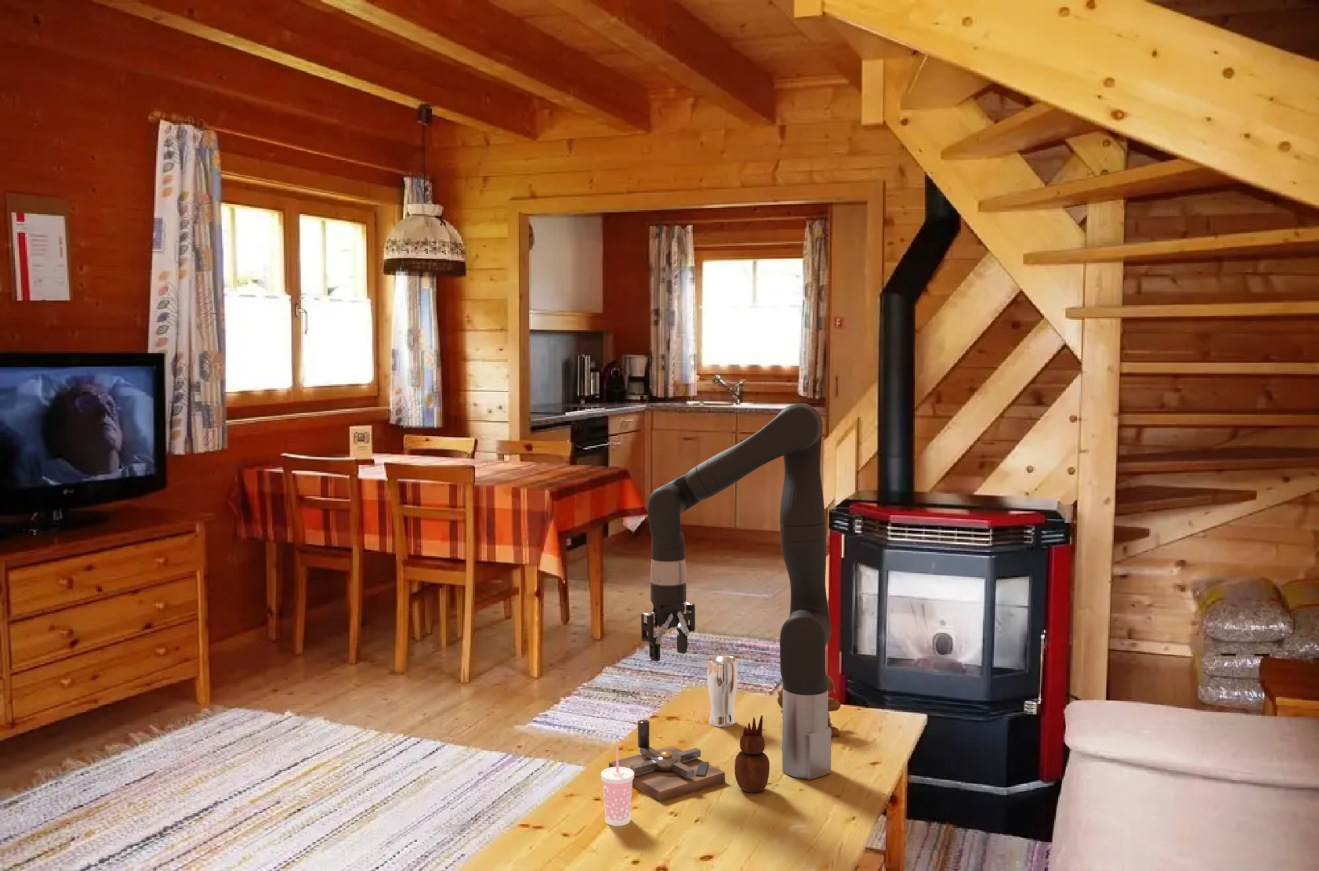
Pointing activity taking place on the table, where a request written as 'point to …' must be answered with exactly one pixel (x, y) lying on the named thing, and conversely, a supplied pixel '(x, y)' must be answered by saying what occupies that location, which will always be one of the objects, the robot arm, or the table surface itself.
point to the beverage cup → (617, 793)
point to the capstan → (662, 756)
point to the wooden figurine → (752, 760)
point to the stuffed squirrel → (832, 706)
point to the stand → (672, 777)
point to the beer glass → (722, 689)
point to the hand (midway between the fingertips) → (668, 656)
